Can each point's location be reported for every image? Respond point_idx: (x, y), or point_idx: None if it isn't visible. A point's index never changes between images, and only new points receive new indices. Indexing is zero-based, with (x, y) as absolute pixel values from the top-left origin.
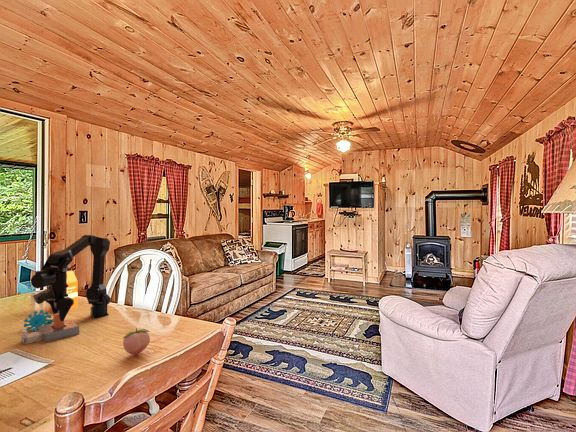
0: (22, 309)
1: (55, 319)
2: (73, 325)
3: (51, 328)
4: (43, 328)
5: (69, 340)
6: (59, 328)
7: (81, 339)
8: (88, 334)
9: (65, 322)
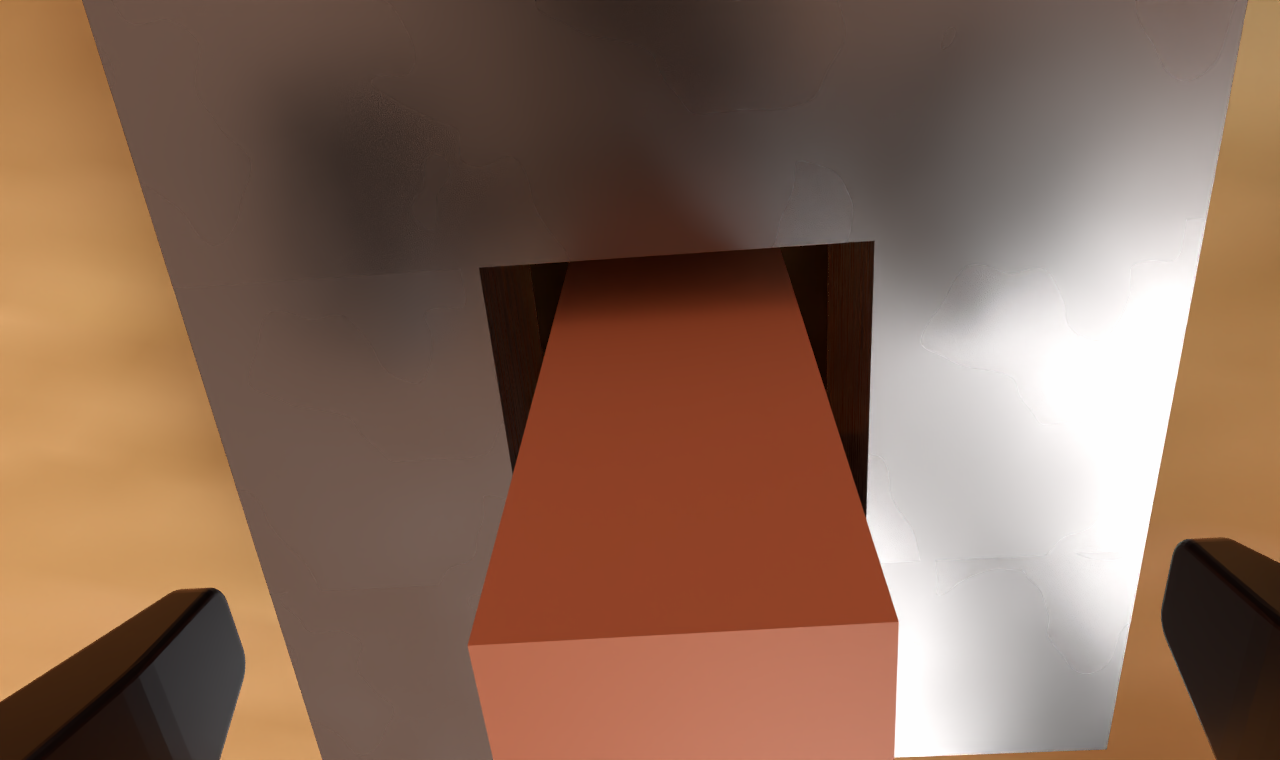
0: None
1: (541, 500)
2: (469, 703)
3: (617, 228)
4: (830, 8)
5: (69, 411)
6: (443, 408)
7: (6, 585)
8: (245, 726)
9: (921, 626)
